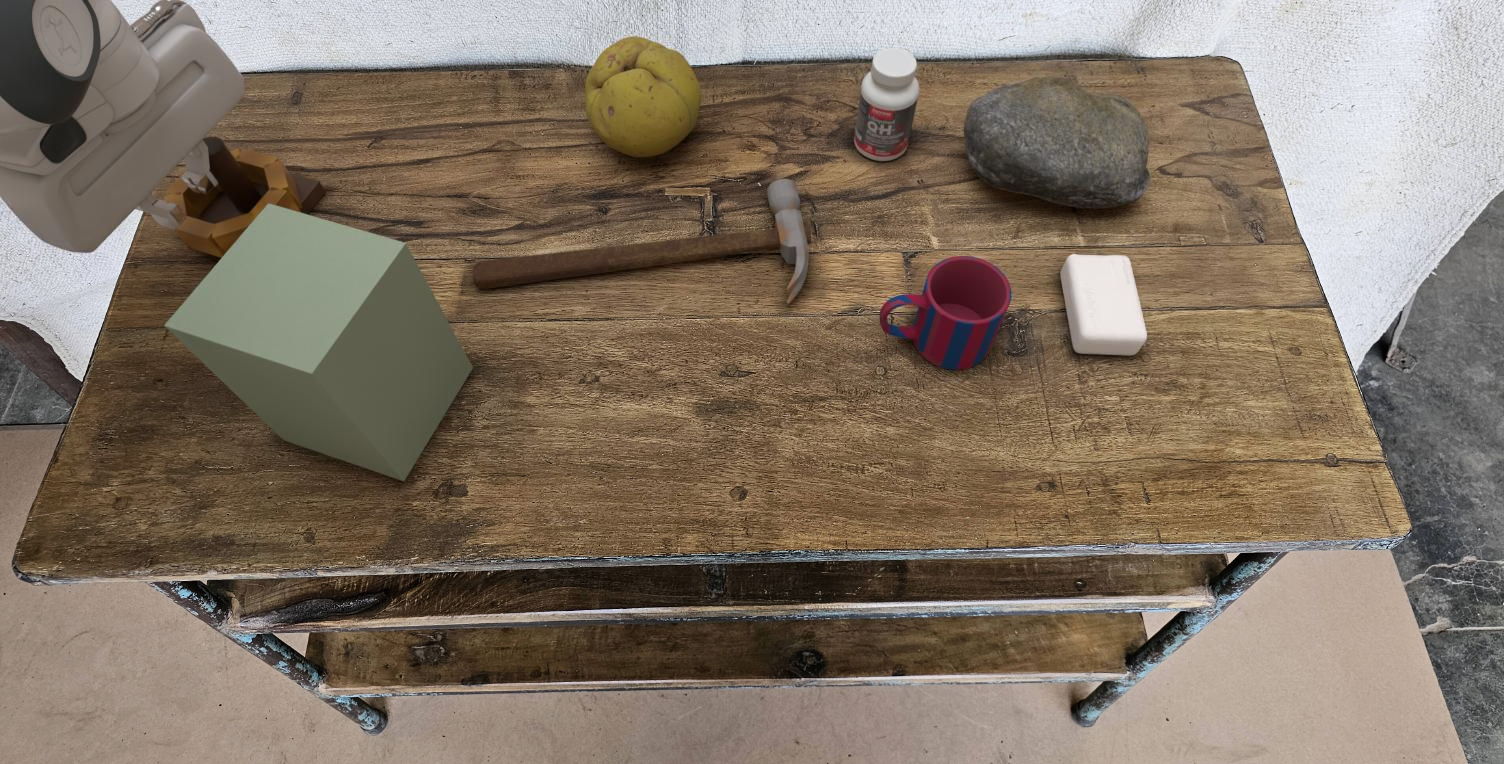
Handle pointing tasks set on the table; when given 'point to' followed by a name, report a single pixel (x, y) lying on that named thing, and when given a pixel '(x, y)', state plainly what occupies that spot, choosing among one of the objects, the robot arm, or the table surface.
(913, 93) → the pill bottle
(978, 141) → the stone
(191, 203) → the ring
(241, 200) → the stand
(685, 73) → the fruit
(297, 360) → the pedestal
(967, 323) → the cup
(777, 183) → the hammer
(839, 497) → the table surface
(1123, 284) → the soap
